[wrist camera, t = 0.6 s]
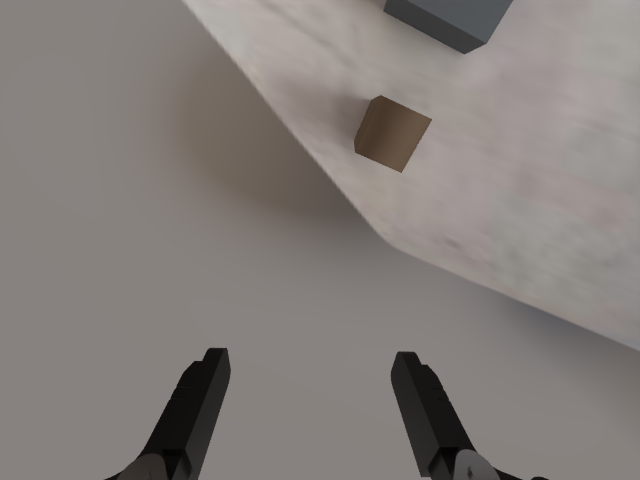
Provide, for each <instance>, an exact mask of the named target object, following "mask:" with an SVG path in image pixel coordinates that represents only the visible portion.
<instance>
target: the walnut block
mask: <svg viewBox="0 0 640 480" xmlns="http://www.w3.org/2000/svg"><path fill="white" fill-rule="evenodd" d="M431 121H432V119H430V118H428V117H426V116H424V115H422V114H420V113H417V112H415V111H413V110H411V109H409V108H407V107H405V106H403V105H400V104H398V103H396V102H394V101H392V100H390V99H388V98H386V97H383V96H381V95H380V96H378V97H376V98H374V99H372V100H371V103H370V105H369V107H368V109H367V112H366V114H365V116H364V119H363V121H362V123H361V126H360V128H359V130H358V133H357V135H356V137H355V140H354V146H355V153H358V154H360V155H362V156H364V157H367V158H369V159H371V160H373V161H376V162H378V163H380V164H383V165H385V166H387V167H389V168H392V169H394V170H396V171H398V172H401V173H402V171H403V169H404V167H405V166H406V164H407V162H408V161H409V159H410V157H411V155H412V154H413V152H414V150H415V148H416V147H417V145H418V143H419V141H420V140H421V138H422V136H423V134H424V133H425V131H426V129H427V128H428V126H429V124H430V122H431Z"/></svg>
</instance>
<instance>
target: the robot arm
mask: <svg viewBox="0 0 640 480" xmlns="http://www.w3.org/2000/svg"><path fill="white" fill-rule="evenodd" d="M230 371H231V369H230V363H229V357H228V350H227V348H209V349H208V350H207V352H206V354H205V356H204V358H203V361H194V362H193V363H192V364H191V365H190V366H189V367H188V368H187V369H186V370H185V371H184V373H183V374H182V376H181V378H180V380H179V382H178V384H177V387H176V389H175V390H174V392H173V394H172V396H171V399H170V400H169V402H168V403H167V405H166V407H165V409H164V411H163V413H162V415H161V417H160V419H159V421H158V423H157V425H156V427H155V428H154V430H153V432H152V434H151V436H150V438H149V440H148V442H147V444H146V446H145V447H144V449H143V451H142V452H141V453H140V455H139V456H138V457H137V458H136V459H135V460H134V461H133V462H132V463H131V464H129V465H128V466H127V467H126V468H125V469H124V470H123V471H121V472H120V473H118V474H116V475H114V476H112V477H110V478H107V479H105V480H198V477H199V474H200V471H201V468H202V465H203V462H204V459H205V455H206V452H207V449H208V446H209V443H210V440H211V437H212V434H213V430H214V427H215V424H216V421H217V418H218V415H219V412H220V409H221V405H222V402H223V399H224V396H225V393H226V390H227V387H228V384H229V379H230ZM391 382H392V386H393V389H394V393H395V396H396V398H397V402H398V405H399V408H400V412H401V414H402V418H403V421H404V424H405V428H406V431H407V433H408V437H409V440H410V443H411V446H412V449H413V453H414V456H415V459H416V462H417V466H418V469H419V472H420V475H421V477H431V479H432V480H522V479H519V478H517V477H514V476H511V475H509V474H507V473H504V472H501V471H499V470H497V469H495V468H494V467H492V465H491V464H490V463H489V462H488V461H487V460H486V459H485V458H484V457H482V456H481V455H480V454H478V453H477V451H476V450H475V448H474V447H473V445H472V443H471V442H470V439H469V438H468V436H467V434H466V432H465V430H464V428H463V426H462V424H461V422H460V420H459V418H458V416H457V414H456V412H455V410H454V408H453V406H452V404H451V402H450V401H449V398H448V396H447V394H446V392H445V391H444V390H443V386H442V385H441V382H440V381H439V379H438V377H437V375H436V374H435V373H434V372H433V371H432V369H430V367H429V366H428V365H422V364H421V362H420V360H419V358H418V356H417V355H416V353H415V352H398V353H397V355H396V358H395V361H394V364H393V367H392V370H391ZM531 480H548V479H546V478H543V477H534V478H532V479H531Z"/></svg>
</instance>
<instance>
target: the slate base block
mask: <svg viewBox="0 0 640 480" xmlns="http://www.w3.org/2000/svg"><path fill="white" fill-rule="evenodd" d="M512 1H513V0H387V2H386V5H385V8H384V12H386V13H387V14H389V15H391V16H393V17H395V18H397V19H399V20H401V21H403V22H404V23H406V24H408V25H410V26H412V27H414V28H416V29H418V30H420V31H421V32H423V33H425V34H427V35H429V36H431V37H433V38H435V39H437V40H438V41H440V42H442V43H444V44H446V45H448V46H450V47H452V48H454V49H455V50H457V51H459V52H461V53H463V54H466V53H468V52H470V51H472V50H474V49H476V48H478V47H480V46H482V45H484V44H486V43H487V42H488V40H489V39H490V37H491V35H492V34H493V32H494V31H495V29H496V27H497V26H498V24H499V22H500V21H501V19H502V17H503V16H504V14H505V13H506V11H507V9H508V8H509V6H510V4H511V3H512Z"/></svg>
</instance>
